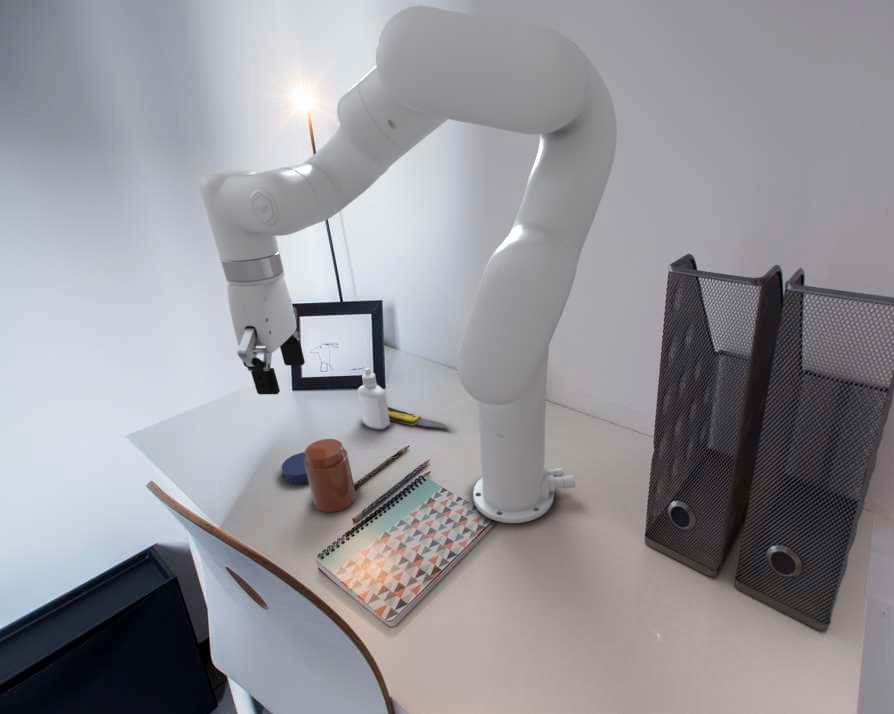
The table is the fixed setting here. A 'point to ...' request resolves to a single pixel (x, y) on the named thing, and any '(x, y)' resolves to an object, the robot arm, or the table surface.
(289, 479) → the jar lid
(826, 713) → the table surface
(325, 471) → the jar
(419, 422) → the utility knife
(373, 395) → the eye dropper bottle
